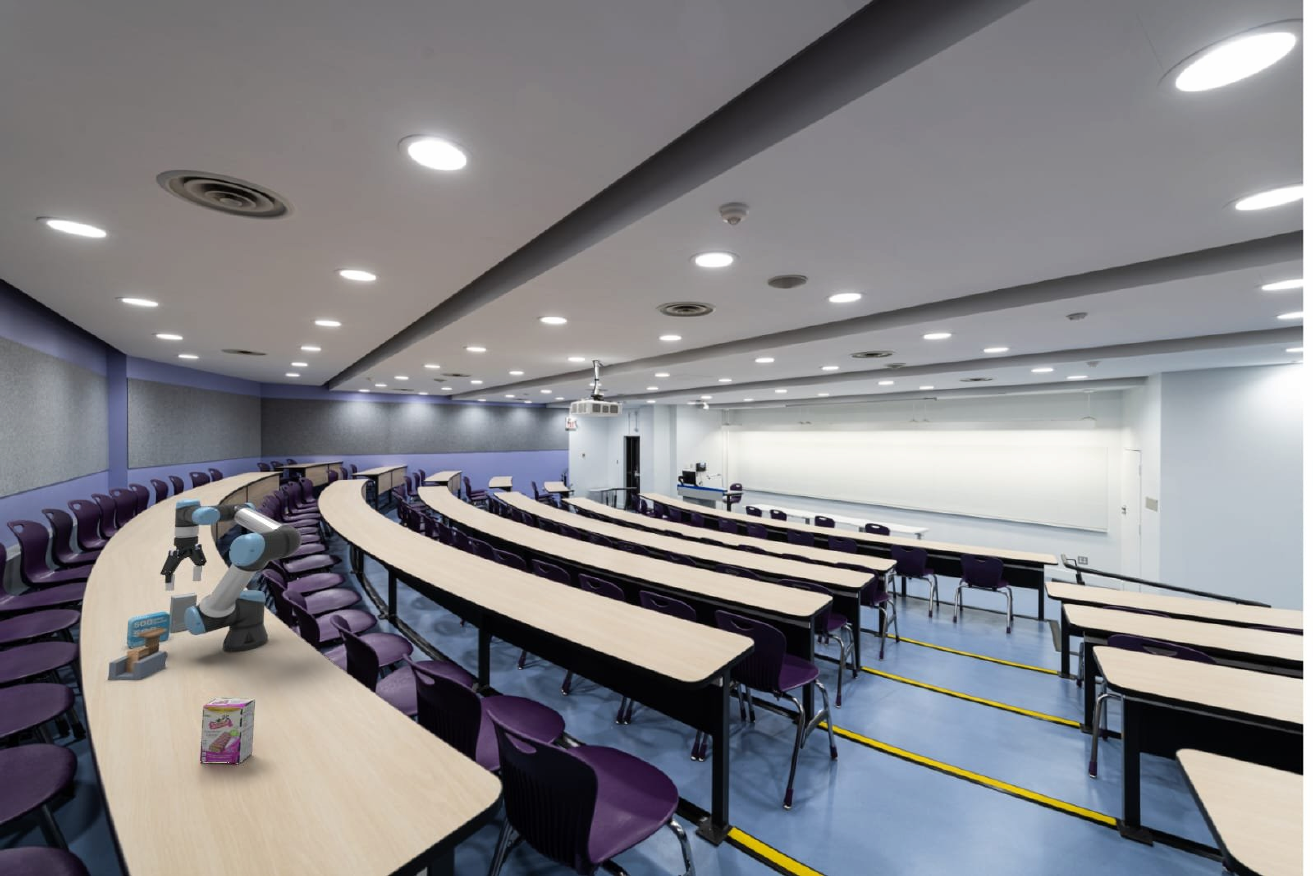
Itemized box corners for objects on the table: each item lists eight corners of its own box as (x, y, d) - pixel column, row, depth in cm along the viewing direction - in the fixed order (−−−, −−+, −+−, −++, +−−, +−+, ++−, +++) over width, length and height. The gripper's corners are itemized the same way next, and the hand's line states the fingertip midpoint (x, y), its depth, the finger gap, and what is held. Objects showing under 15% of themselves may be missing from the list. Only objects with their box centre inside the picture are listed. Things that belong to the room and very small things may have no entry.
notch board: (165, 667, 188) (166, 651, 188) (139, 679, 178) (140, 663, 179) (135, 667, 188) (136, 651, 188) (108, 679, 178) (109, 662, 178)
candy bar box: (198, 764, 135) (201, 706, 136) (213, 753, 140) (217, 696, 141) (238, 765, 136) (242, 707, 136) (253, 754, 141) (256, 697, 141)
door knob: (173, 654, 199) (175, 627, 200) (152, 664, 190) (154, 636, 191) (150, 654, 199) (151, 627, 199) (128, 664, 190) (129, 636, 190)
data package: (129, 649, 202) (131, 620, 202) (126, 646, 204) (128, 618, 205) (168, 640, 212) (170, 612, 213) (165, 637, 215) (167, 610, 215)
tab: (147, 667, 185) (149, 646, 185) (137, 672, 181) (138, 651, 181) (136, 667, 185) (137, 646, 185) (125, 672, 181) (127, 651, 181)
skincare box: (170, 633, 219) (172, 598, 219) (167, 629, 223) (169, 595, 223) (195, 628, 226) (197, 594, 226) (192, 624, 230) (194, 591, 230)
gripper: (200, 530, 218) (197, 577, 218) (149, 541, 194) (146, 594, 193) (218, 530, 219) (216, 577, 219) (170, 542, 194) (167, 594, 194)
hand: (183, 585), depth 206 cm, fingers open, 13 cm apart
